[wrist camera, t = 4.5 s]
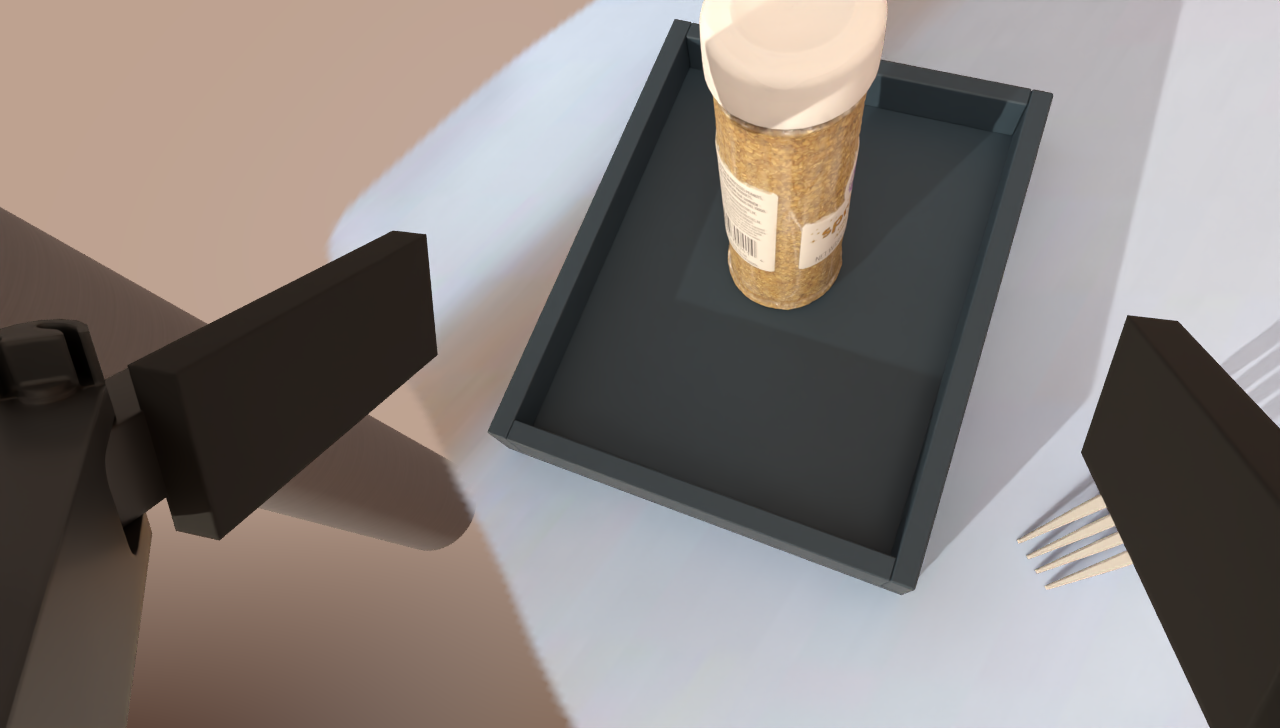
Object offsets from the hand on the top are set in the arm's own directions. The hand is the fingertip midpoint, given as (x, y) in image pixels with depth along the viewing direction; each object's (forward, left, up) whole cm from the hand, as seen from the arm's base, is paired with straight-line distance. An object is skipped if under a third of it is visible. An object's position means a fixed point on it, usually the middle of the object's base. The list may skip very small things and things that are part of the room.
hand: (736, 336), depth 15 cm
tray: (-2, +8, -15) cm, 17 cm away
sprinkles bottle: (-2, +9, -15) cm, 17 cm away
